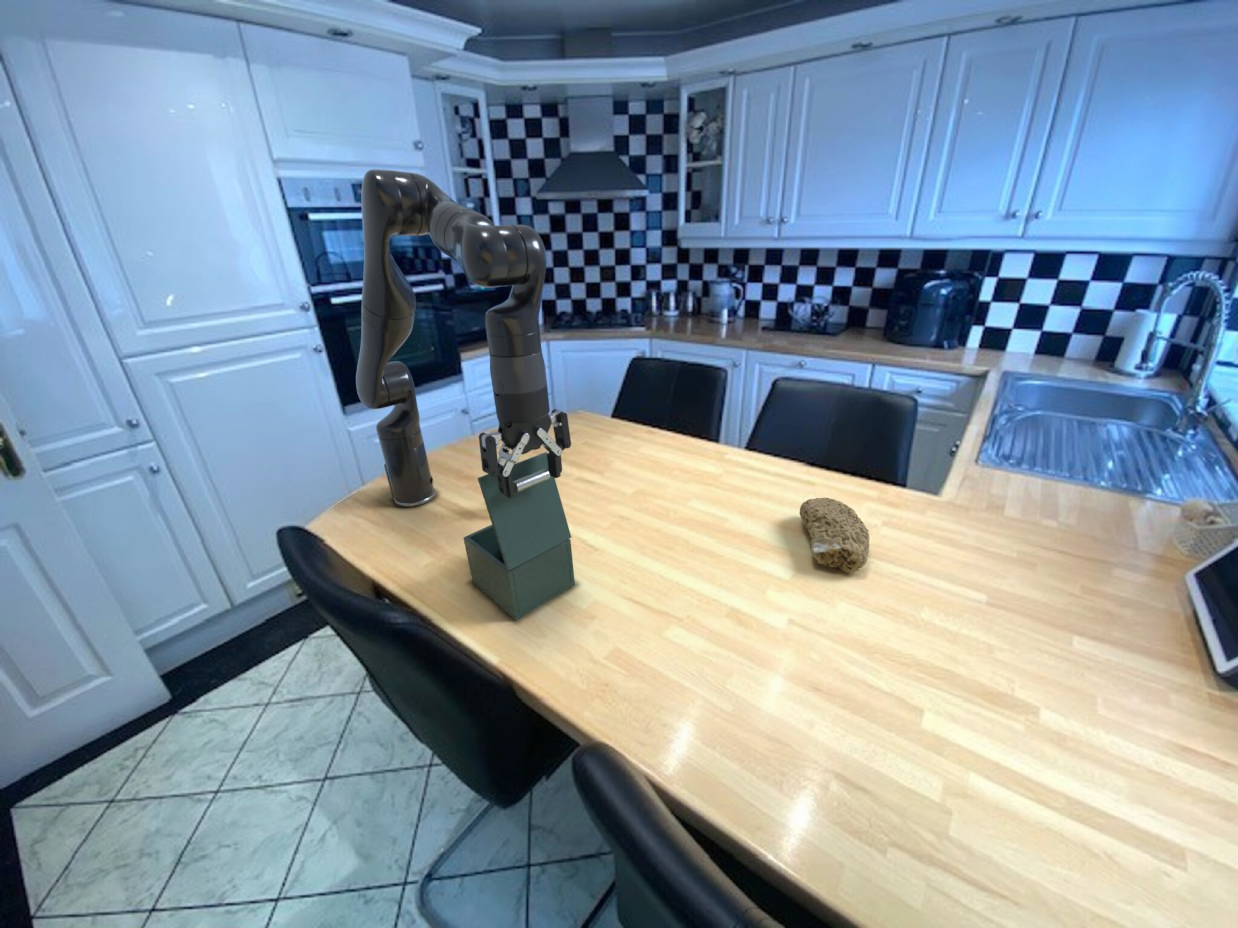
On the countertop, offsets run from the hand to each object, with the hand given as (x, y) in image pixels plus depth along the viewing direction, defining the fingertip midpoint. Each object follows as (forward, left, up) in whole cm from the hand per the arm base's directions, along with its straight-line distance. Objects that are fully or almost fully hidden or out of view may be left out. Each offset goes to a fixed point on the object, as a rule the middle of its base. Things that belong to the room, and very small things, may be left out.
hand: (532, 485), depth 78 cm
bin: (-7, +2, -23) cm, 24 cm away
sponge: (+40, +39, -23) cm, 60 cm away
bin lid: (-3, +1, -5) cm, 6 cm away
